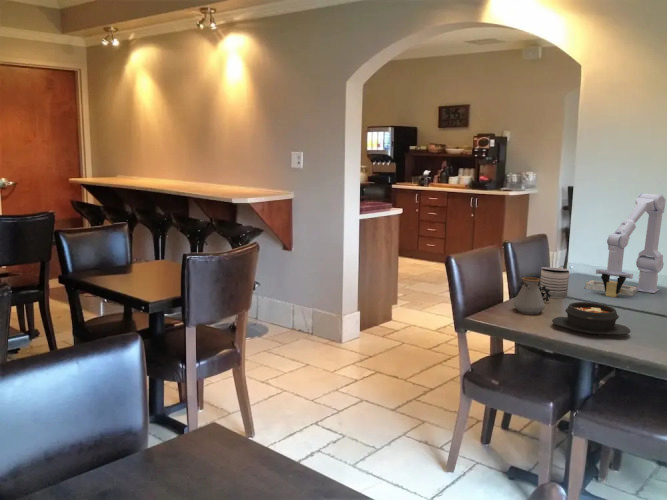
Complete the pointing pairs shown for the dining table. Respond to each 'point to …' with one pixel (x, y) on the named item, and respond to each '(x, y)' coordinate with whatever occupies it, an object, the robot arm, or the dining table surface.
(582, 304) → the casserole
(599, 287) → the rail
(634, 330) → the dining table surface
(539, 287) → the black upright ornate piece
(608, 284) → the brass block
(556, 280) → the striped ceramic pot
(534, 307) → the coffee pot
